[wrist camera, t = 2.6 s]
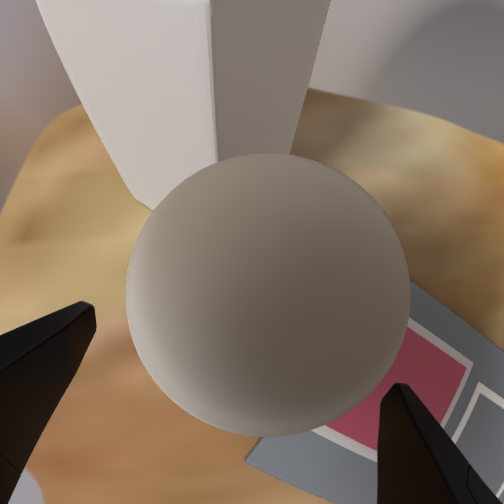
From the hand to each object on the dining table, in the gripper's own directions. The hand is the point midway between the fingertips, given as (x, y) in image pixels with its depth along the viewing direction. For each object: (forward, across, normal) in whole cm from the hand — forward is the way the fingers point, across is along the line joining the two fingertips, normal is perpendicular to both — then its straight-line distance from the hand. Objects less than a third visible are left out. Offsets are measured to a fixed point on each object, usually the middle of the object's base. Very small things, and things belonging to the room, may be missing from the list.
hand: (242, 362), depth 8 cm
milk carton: (+13, +4, 0) cm, 14 cm away
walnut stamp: (+7, 0, +5) cm, 9 cm away
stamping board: (+4, -15, +8) cm, 18 cm away
